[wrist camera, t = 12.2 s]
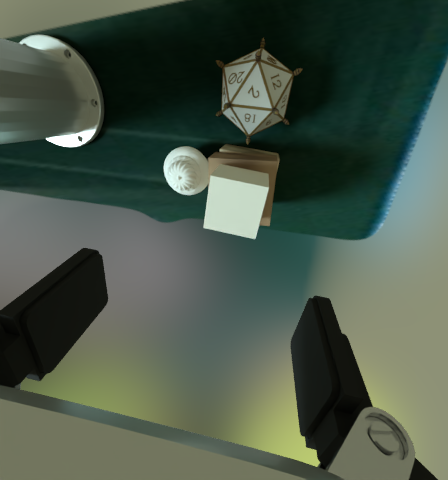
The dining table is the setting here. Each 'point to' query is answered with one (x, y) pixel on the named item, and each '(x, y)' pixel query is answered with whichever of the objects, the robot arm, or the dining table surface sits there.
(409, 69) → the dining table surface
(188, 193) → the white rounded piece
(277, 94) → the game die
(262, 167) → the walnut block
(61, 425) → the robot arm
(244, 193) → the ivory cube
